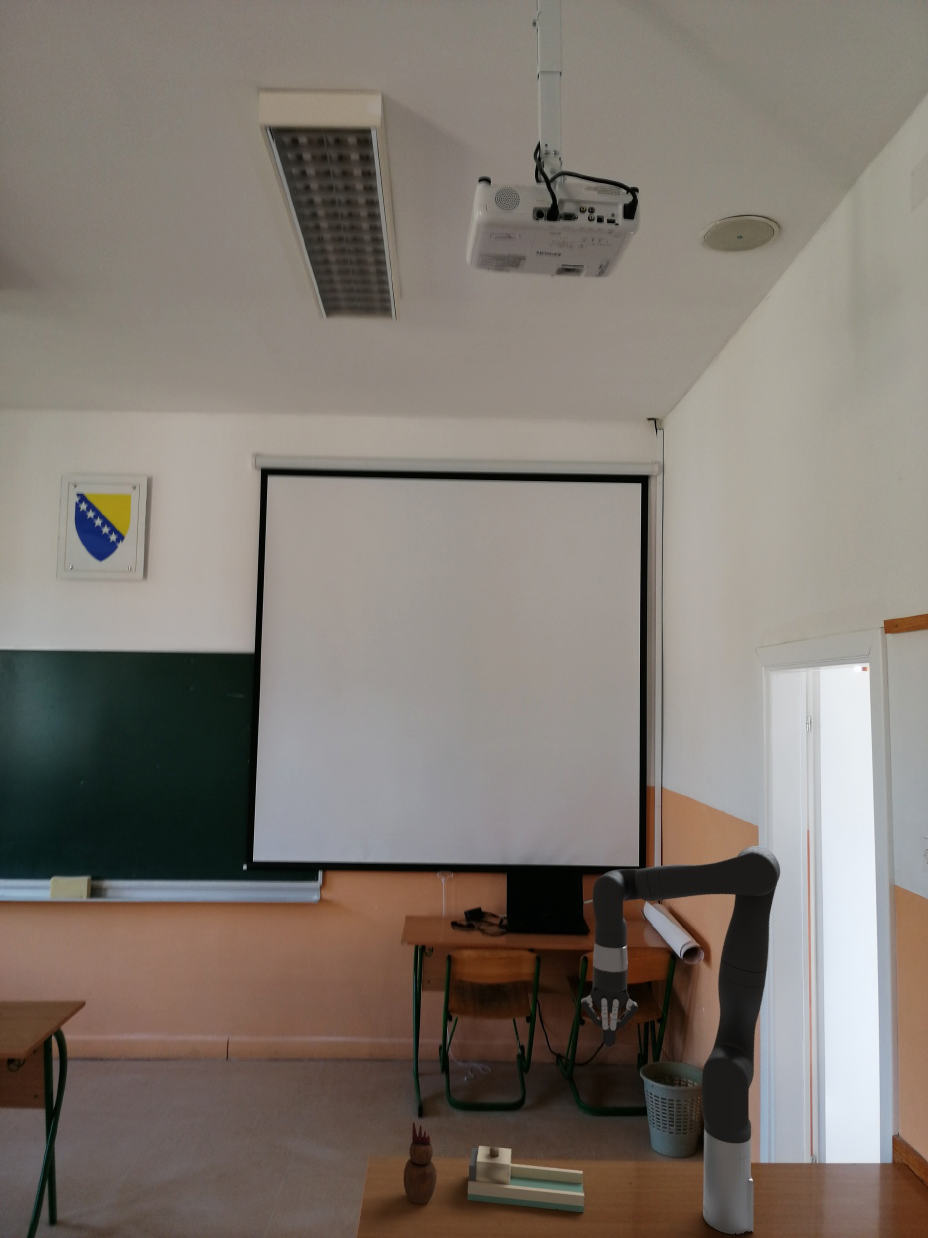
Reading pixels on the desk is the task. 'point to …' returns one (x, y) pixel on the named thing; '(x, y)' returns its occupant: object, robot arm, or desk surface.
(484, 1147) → the cream knobbed cube
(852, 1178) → the desk surface
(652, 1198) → the desk surface
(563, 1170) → the rail
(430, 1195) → the wooden figurine
